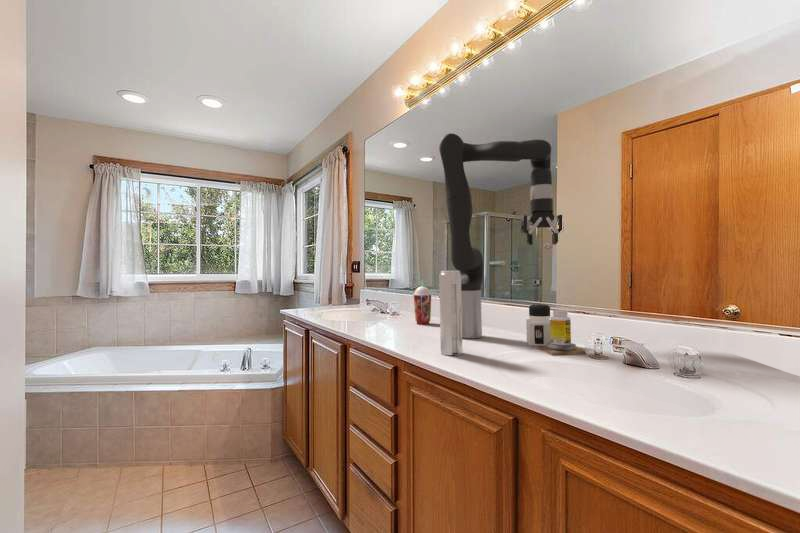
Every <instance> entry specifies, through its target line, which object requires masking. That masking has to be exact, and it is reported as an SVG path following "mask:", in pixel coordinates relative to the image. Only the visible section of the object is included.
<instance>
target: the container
mask: <svg viewBox="0 0 800 533" xmlns="http://www.w3.org/2000/svg"><path fill="white" fill-rule="evenodd" d="M525 322H526V323H525V324H526V326H525V327H526V330H525V331H526V342H527V344H528V346H530V347H538V346H539V345H547V343H549V342H551V307H550V306H549V305H548V304H543V303H541V304H540V303H535V304H531V305H529V306H528V318H527V319H526V321H525Z"/></svg>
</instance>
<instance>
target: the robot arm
mask: <svg viewBox="0 0 800 533" xmlns="http://www.w3.org/2000/svg"><path fill="white" fill-rule="evenodd" d="M438 149H439V154H440V159H441V162H442V166H443V173H444V190H445V200H446V209H447V215H448V224H449V230H450V232H449V233H450V251H451V253H450V255H451V256H450V257H451V263H452V266H453V268H454V269H455V270H456V271H460V273H461V304H462V339H477V338H478V339H480V338H482V337H483V327H482V326H483V322H482V321H483V320H482V319H483V318H482V284H483V281H484V280H483V278H484V259H483V254H482V252H481V251H480V250H479V249H477V248H476V247H473V246H472V242H471V236H470V227H471V223H472V220H473V218H472V217H473V202H472V194H471V191H470V185H469V181H468V179H467V176H466V175H467V174H466V172H465V166H464V163H467V162H468V163H470V162H482V161H487V162H488V161H489V162H490V161H492V162H512V163H513V162H520V161H521V160H530V161H529V162H530V191H529V200H530V201H529V203H530V204H529V205H530V206H529V207H530V215H526V214H525V215H523V216H521V220H520V233H521V234H525V235H526V243H527V245H528V246H533V242H534V241H533V232H534V230H535V229H537V228H538V229H539V228H542V229H546V228H547V229H548V230H549V231H550V232H551V233H552V234H551V244H552V245H553V246H556V245H557V244H558V243H559V234H560V233H561V232H560V231H561V230H562V217H563V214H558V215H554V195H553V194H554V191H553V185H552V183H553V181H552V171H551V160H552V159H551V155H552V146H551V144H550V143H549V141H547V140H544V139H531V140H523V141H522V140H521V141H515V140H514V141H513V140H509V141H508V140H500V141H499V140H498V141H493V142H488V143H487V142H486V143H483V144H482V143H480V144H478V143H477V144H473V143H467V142H464V141H463V139H462V137H460V136H459V135H457V134H455V133H446V134H445V135H444V136H443V137H442V138H441V140H440V143H439V146H438ZM529 221H530V222H531V224H530V226H529V227H528V222H529ZM553 221H555V222H556V223H557V222H558V221H559V222H558V225H559V229H557V226H556V225H555V224H554V222H553Z"/></svg>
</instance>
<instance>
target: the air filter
mask: <svg viewBox="0 0 800 533" xmlns="http://www.w3.org/2000/svg"><path fill="white" fill-rule="evenodd" d="M438 276H439V277H438V278H439V279H438V282H439V283H438V286H439V287H438V288H439V290H438V291H439V326H440V327H439V329H440V330H439V332H440V333H439V336H440V338H439V339H440V354H441V355H443V354H444V356H448V355H456V356H461V355H462V354H463V352H464V351H463V338H462V304H461V273H460V271H458V270H441V271H440V273H439V274H438Z"/></svg>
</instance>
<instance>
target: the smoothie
mask: <svg viewBox="0 0 800 533" xmlns="http://www.w3.org/2000/svg"><path fill="white" fill-rule="evenodd" d="M420 284H421V286H419V287H417V288H415V290H414V293H413V302H414V303H413V305H414V317H415V322H416V324H417V325H421V324H422V325H424V326H425V325H429V324H430V322H431V313H432V310H431V308H432V293H431V291H430V289H429V288H428V287H426V286H424V282H423V279H421V282H420Z"/></svg>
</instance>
